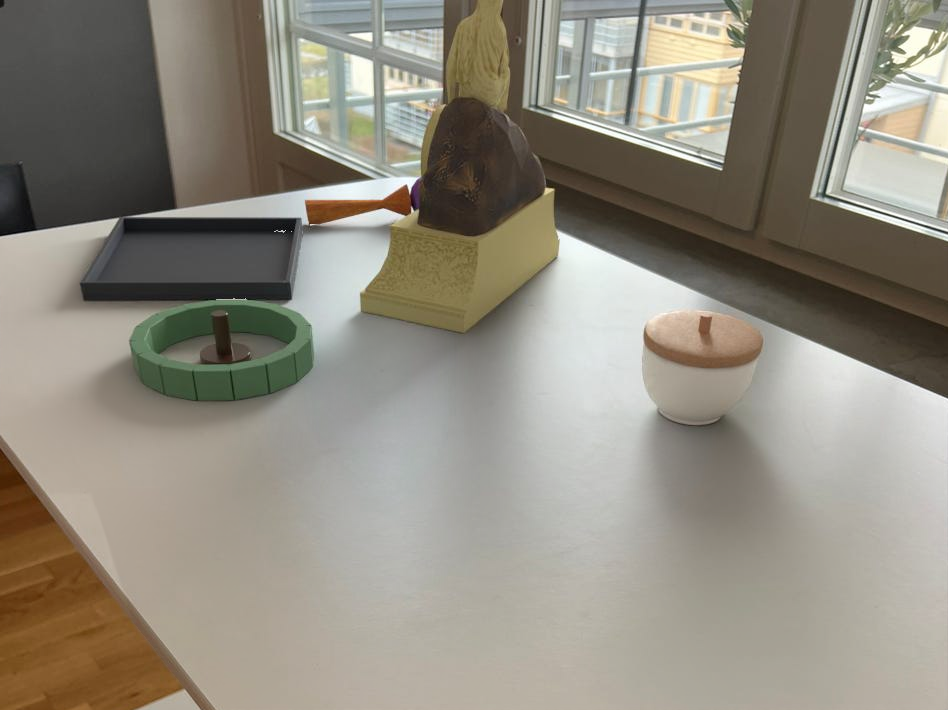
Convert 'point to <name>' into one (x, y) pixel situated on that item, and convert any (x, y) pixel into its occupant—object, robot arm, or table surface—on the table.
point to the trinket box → (698, 364)
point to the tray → (196, 259)
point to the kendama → (362, 205)
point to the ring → (222, 377)
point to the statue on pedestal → (469, 197)
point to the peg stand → (223, 344)
